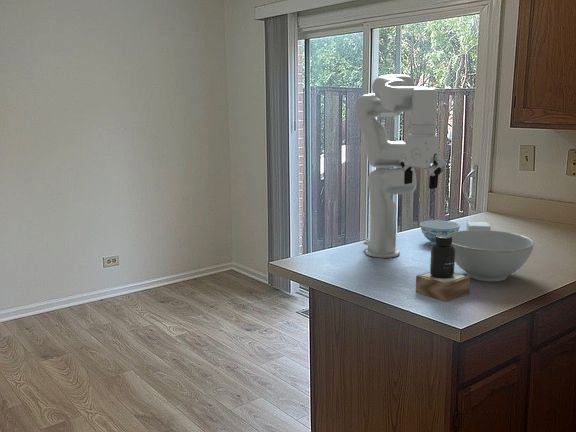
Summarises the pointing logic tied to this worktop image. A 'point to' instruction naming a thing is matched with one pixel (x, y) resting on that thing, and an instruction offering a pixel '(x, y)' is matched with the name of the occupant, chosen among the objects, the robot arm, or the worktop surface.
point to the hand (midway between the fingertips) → (420, 185)
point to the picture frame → (443, 286)
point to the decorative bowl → (490, 253)
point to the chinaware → (438, 228)
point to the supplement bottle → (442, 257)
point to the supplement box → (478, 226)
